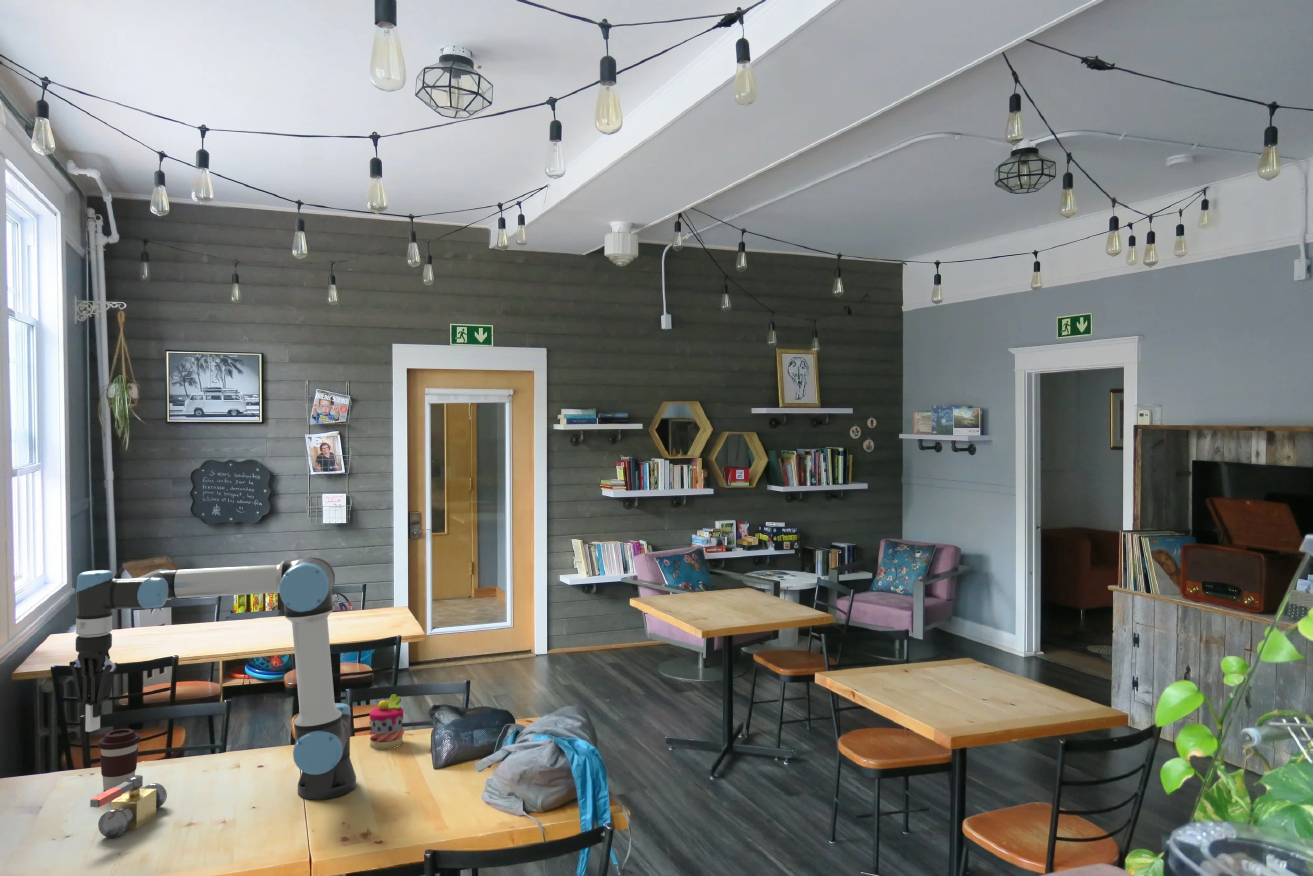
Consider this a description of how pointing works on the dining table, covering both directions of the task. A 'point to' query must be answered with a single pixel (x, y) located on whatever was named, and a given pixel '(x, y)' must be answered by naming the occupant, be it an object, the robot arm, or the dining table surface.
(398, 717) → the cake
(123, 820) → the valve
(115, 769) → the coffee cup
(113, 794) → the lever
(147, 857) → the dining table surface
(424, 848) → the dining table surface
